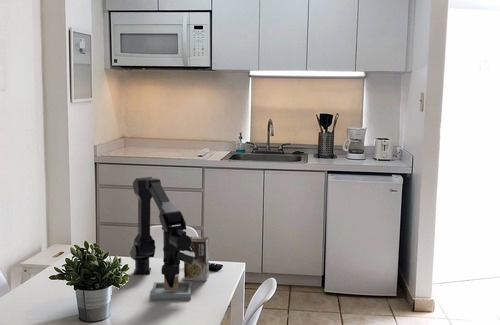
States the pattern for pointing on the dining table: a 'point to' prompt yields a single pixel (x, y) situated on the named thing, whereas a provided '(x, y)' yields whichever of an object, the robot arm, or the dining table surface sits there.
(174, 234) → the robot arm
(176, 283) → the walnut block
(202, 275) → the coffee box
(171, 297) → the grey tray
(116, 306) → the dining table surface
